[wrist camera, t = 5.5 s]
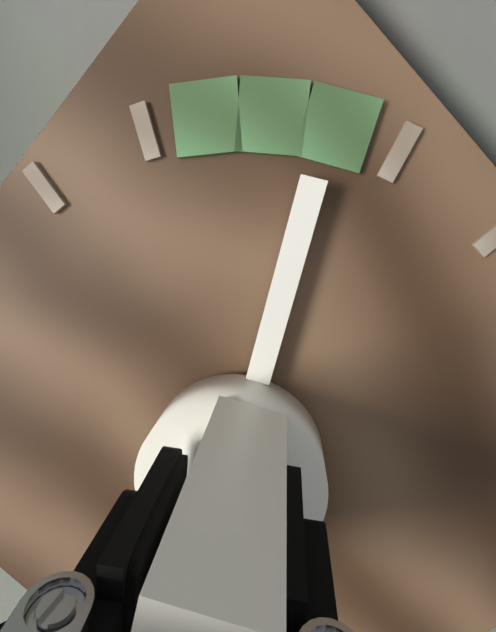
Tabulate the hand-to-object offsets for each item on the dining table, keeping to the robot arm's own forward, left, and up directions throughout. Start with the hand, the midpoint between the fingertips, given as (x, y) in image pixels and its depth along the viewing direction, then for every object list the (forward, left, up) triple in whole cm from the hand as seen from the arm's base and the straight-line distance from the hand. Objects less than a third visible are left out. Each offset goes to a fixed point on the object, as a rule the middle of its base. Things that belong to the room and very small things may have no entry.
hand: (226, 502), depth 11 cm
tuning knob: (+3, +2, -3) cm, 4 cm away
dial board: (0, 0, -4) cm, 4 cm away
